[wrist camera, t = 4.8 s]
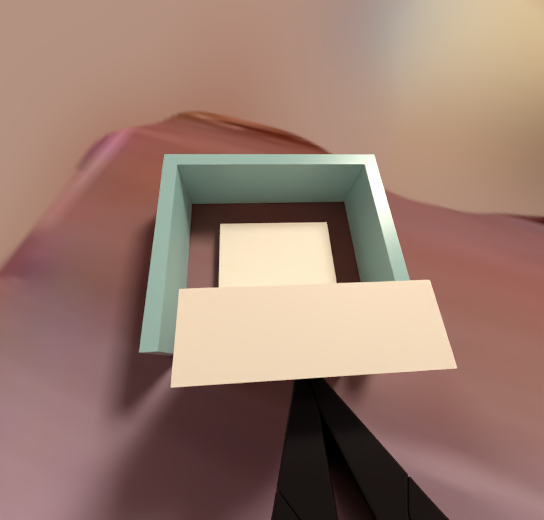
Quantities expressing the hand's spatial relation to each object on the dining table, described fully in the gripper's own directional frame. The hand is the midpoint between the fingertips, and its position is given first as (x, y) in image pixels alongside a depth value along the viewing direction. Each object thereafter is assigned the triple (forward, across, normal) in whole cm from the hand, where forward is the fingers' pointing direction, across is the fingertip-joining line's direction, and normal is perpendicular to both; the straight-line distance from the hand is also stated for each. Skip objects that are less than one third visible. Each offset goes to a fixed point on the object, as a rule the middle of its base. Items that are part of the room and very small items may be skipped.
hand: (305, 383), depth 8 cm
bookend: (+8, 0, +1) cm, 9 cm away
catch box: (+9, 0, 0) cm, 9 cm away
